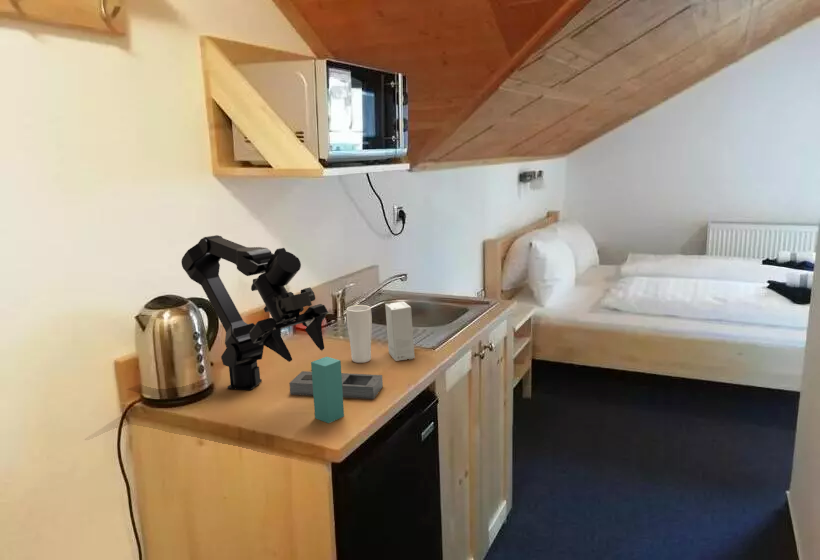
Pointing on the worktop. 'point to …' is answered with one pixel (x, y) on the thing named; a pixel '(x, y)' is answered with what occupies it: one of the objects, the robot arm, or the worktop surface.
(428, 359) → the worktop surface
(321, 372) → the teal peg
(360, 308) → the drinking glass
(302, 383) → the grey peg board
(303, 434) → the worktop surface
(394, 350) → the skincare box
